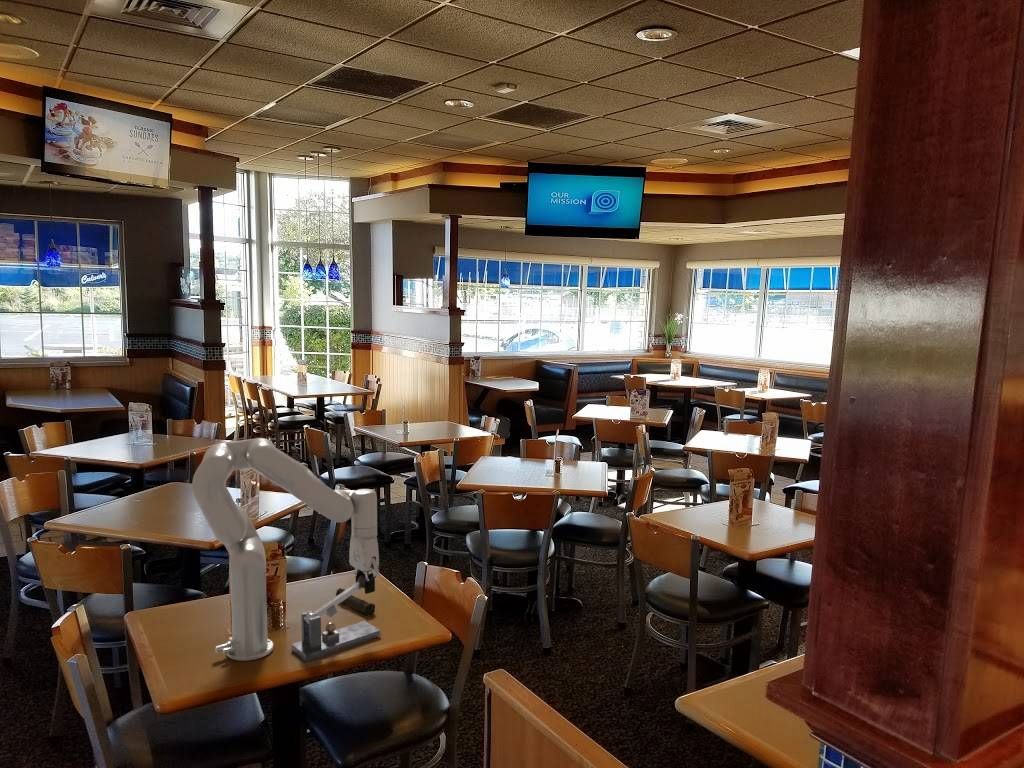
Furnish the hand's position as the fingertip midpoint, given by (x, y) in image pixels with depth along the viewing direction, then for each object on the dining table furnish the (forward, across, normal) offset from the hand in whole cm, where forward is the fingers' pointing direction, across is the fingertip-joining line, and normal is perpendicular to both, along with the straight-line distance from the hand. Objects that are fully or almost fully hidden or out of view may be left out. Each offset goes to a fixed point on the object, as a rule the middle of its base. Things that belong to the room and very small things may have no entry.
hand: (365, 589), depth 220 cm
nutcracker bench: (+14, 0, -11) cm, 18 cm away
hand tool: (+14, -20, +7) cm, 25 cm away
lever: (+3, 0, -8) cm, 8 cm away
